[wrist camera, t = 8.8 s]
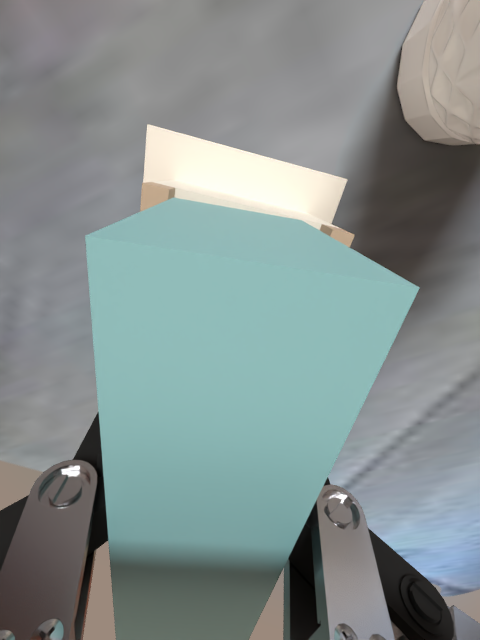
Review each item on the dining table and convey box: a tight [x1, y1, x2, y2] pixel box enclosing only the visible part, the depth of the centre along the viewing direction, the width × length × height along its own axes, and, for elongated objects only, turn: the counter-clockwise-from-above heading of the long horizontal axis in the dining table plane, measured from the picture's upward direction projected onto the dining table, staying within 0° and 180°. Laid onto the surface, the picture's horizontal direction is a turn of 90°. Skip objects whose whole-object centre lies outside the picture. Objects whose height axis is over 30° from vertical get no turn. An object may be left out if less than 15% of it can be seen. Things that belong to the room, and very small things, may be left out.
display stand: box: [140, 124, 355, 248], centre depth 15 cm, size 10×18×7 cm, turn 167°
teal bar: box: [85, 197, 419, 640], centre depth 9 cm, size 4×14×6 cm, turn 171°
